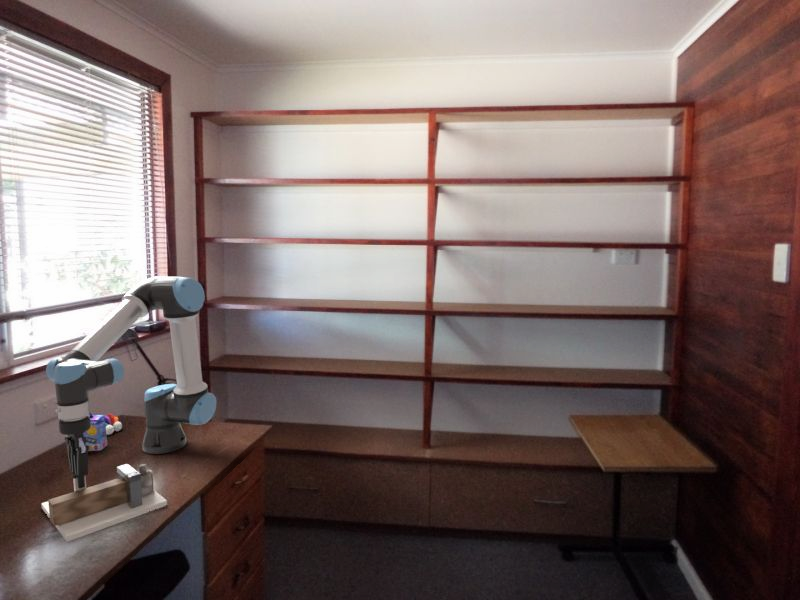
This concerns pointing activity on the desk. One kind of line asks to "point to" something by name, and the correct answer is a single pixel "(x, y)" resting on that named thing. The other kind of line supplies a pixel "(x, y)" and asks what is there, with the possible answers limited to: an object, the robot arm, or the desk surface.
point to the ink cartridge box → (96, 433)
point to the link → (95, 498)
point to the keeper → (131, 485)
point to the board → (106, 516)
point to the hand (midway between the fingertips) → (81, 497)
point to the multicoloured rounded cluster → (112, 424)
